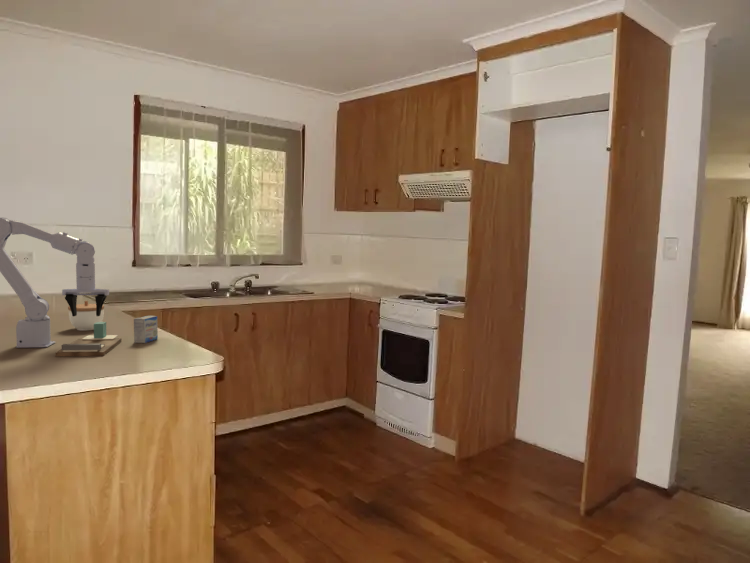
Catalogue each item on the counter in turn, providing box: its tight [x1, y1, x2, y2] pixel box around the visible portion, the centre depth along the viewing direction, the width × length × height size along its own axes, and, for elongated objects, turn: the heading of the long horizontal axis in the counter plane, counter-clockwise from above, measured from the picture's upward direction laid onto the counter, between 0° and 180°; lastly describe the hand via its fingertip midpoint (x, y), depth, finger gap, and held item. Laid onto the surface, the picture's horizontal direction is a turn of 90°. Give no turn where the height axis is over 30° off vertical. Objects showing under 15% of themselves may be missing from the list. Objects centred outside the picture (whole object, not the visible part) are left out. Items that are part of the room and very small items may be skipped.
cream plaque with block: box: [81, 321, 119, 340], centre depth 197 cm, size 10×6×5 cm, turn 101°
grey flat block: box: [61, 343, 105, 352], centre depth 181 cm, size 11×9×2 cm
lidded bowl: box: [67, 300, 105, 331], centre depth 220 cm, size 13×13×11 cm
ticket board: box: [54, 337, 122, 357], centre depth 187 cm, size 14×22×1 cm, turn 11°
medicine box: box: [133, 315, 159, 344], centre depth 201 cm, size 8×4×9 cm, turn 168°
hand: (86, 315), depth 195 cm, fingers open, 7 cm apart
